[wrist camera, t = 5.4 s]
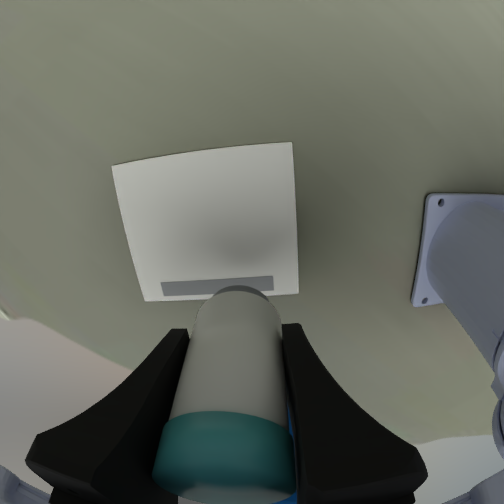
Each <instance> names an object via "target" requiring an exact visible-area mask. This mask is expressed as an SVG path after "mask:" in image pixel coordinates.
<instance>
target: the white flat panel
mask: <svg viewBox="0 0 504 504" xmlns="http://www.w3.org/2000/svg"><path fill="white" fill-rule="evenodd" d="M112 172H113V177H114V182H115V187H116V192H117V197H118V202H119V206H120V211H121V215H122V220H123V224H124V228H125V232H126V236H127V240H128V244H129V248H130V251H131V255H132V259H133V262H134V266H135V270H136V273H137V276H138V280H139V283H140V286H141V290H142V293H143V296H144V299H145V301H175V300H201V299H210V298H211V297H212V296H213V295H214V294H215V293H216V292H218V291H219V290H221V289H223V288H225V287H228V286H233V285H244V286H249V287H252V288H255V289H257V290H258V291H260V292H261V293H263V294H264V295H265V296H271V295H285V294H298V293H299V284H298V246H297V220H296V199H295V181H294V164H293V150H292V142H280V143H266V144H254V145H243V146H233V147H223V148H215V149H207V150H199V151H192V152H185V153H178V154H172V155H166V156H160V157H154V158H148V159H143V160H137V161H132V162H127V163H122V164H118V165H113V166H112Z"/></svg>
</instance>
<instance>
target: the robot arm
mask: <svg viewBox="0 0 504 504" xmlns="http://www.w3.org/2000/svg"><path fill="white" fill-rule="evenodd" d="M440 199H441V203H440V204H439V205H438V201H439V200H440ZM424 298H425V299H424ZM423 299H424V300H423ZM422 300H423V301H422ZM411 303H412V305H413V306H414V307H421V306H427V305H433V304H439V303H445V304H446V305H447V307H448V308H449V309H450V311H451V312H452V313H453V315H454V316H455V317H456V318H457V320H458V321H459V322H460V324H461V325H462V327H463V328H464V329H465V331H466V332H467V333H468V335H469V336H470V338H471V339H472V340H473V342H474V343H475V345H476V346H477V347H478V349H479V350H480V352H481V353H482V355H483V356H484V358H485V359H486V361H487V362H488V364H489V365H490V367H491V368H492V370H493V371H494V372H495V378H494V381H493V383H492V385H491V387H492V389H493V391H494V392H495V394H496V396H497V397H498V399H499V400H498V402H497V404H496V407H495V410H494V412H493V418H492V431H493V437H494V441H495V444H496V447H497V449H498V451H499V453H500V455H501V456H502V458H503V459H504V195H502V194H467V193H432V194H429V195H428V196H427V198H426V203H425V213H424V223H423V232H422V239H421V247H420V253H419V260H418V266H417V272H416V277H415V283H414V288H413V293H412V298H411ZM189 342H190V339H189V335H188V332H187V329H171V330H170V331H169V332H168V334H167V335H166V336H165V337H164V338H163V339H162V340H161V341H160V343H159V344H158V345H157V346H156V347H155V348H154V350H153V351H152V352H151V353H150V354H149V355H148V356H147V357H146V359H145V360H144V361H143V362H142V363H141V364H140V365H139V366H138V367H137V368H136V369H135V370H134V371H133V372H132V373H131V374H130V375H129V376H128V377H127V378H126V379H125V381H123V382H122V383H121V384H120V385H119V386H118V387H116V388H115V389H114V390H113V391H112V392H110V393H109V394H108V395H107V396H106V397H104V398H103V399H102V400H100V401H99V402H97V403H96V404H95V405H93V406H91V407H90V408H89V409H87V410H86V411H84V412H83V413H81V414H79V415H78V416H76V417H74V418H72V419H70V420H69V421H67V422H65V423H63V424H61V425H59V426H56V427H54V428H52V429H50V430H47V431H45V432H42V433H40V434H37V436H36V438H35V440H34V442H33V444H32V446H31V448H30V450H29V452H28V454H27V457H26V459H25V462H26V465H27V466H28V467H29V468H30V469H31V470H32V471H33V472H34V473H36V474H37V475H38V476H39V477H41V478H42V479H43V480H44V481H46V482H47V483H49V484H50V485H51V486H53V487H54V488H53V491H52V493H51V495H50V494H47V493H45V492H43V491H41V490H39V489H37V488H35V487H33V486H31V485H29V484H27V483H26V482H24V481H22V480H20V479H19V478H18V477H17V476H16V475H15V474H13V473H12V472H11V471H9V470H8V469H6V468H5V467H3V466H1V465H0V504H178V496H177V495H175V494H173V493H170V492H168V491H167V490H165V489H163V488H162V487H160V486H159V485H158V484H156V483H155V481H154V480H153V478H152V471H153V467H154V463H155V458H156V454H157V450H158V446H159V442H160V438H161V434H162V430H163V427H164V425H165V424H166V423H167V422H168V421H169V417H170V413H171V409H172V405H173V401H174V397H175V394H176V390H177V386H178V382H179V378H180V375H181V371H182V367H183V363H184V360H185V356H186V352H187V349H188V345H189ZM282 343H283V356H284V365H285V376H286V389H287V402H288V408H289V414H290V420H291V426H292V432H293V439H294V451H295V470H296V486H297V489H296V492H297V504H414V503H415V497H414V493H413V492H414V491H415V490H416V489H418V487H420V486H421V485H422V484H423V483H424V482H425V480H426V479H427V477H428V473H427V469H426V466H425V463H424V461H423V459H422V457H421V455H420V453H419V452H418V450H417V448H416V447H414V446H413V445H411V444H409V443H407V442H406V441H404V440H403V439H401V438H399V437H398V436H396V435H395V434H393V433H392V432H391V431H389V430H388V429H386V428H385V427H384V426H382V425H381V424H380V423H378V422H377V421H376V420H375V419H374V418H372V417H371V416H370V415H369V414H368V413H367V412H365V411H364V410H363V409H362V408H361V407H360V406H359V405H358V404H357V403H356V402H355V401H354V400H352V399H351V398H350V396H349V395H348V394H347V393H346V392H345V391H344V390H343V389H342V388H341V387H340V385H339V384H338V383H337V382H336V381H335V380H334V378H333V377H332V376H331V374H330V373H329V372H328V371H327V369H326V368H325V366H324V365H323V364H322V362H321V361H320V359H319V358H318V356H317V355H316V353H315V351H314V350H313V348H312V346H311V345H310V343H309V341H308V339H307V337H306V335H305V333H304V331H303V329H302V326H301V325H300V324H299V323H293V324H282ZM442 504H504V469H503V470H501V471H500V472H498V473H496V474H494V475H493V476H491V477H489V478H487V479H485V480H484V481H482V482H480V483H479V484H477V485H476V486H475V487H473V488H472V489H471V490H470V491H469V492H467V493H465V494H463V495H461V496H458V497H456V498H454V499H452V500H450V501H447V502H445V503H442Z"/></svg>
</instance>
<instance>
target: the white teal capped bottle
mask: <svg viewBox="0 0 504 504" xmlns="http://www.w3.org/2000/svg"><path fill="white" fill-rule="evenodd" d="M152 478H153V480H154V481H155V483H156V484H158V485H159V486H160V487H162V488H163V489H165V490H167V491H168V492H170V493H173V494H175V495H177V496H180V497H183V498H186V499H189V500H193V501H197V502H201V503H206V504H271V503H275V502H279V501H282V500H284V499H287V498H288V497H290V496H292V495H293V494H294V493H295V492H296V489H297V486H296V470H295V454H294V441H293V438H292V435H291V434H290V433H289V418H288V403H287V389H286V376H285V365H284V356H283V343H282V327H281V319H280V316H279V314H278V312H277V310H276V309H275V307H274V306H273V305H272V304H271V303H270V302H269V300H268V299H267V297H266V296H265V295H264V294H263V293H261V292H260V291H258V290H257V289H255V288H252V287H249V286H244V285H233V286H228V287H225V288H223V289H221V290H219V291H218V292H216V293H215V294H214V295H213V296H212V297H211V298H210V299H208V300H207V301H206V302H205V303H204V304H203V305H202V306H201V307H200V309H199V311H198V314H197V317H196V320H195V324H194V327H193V331H192V334H191V338H190V342H189V345H188V349H187V352H186V356H185V360H184V363H183V367H182V371H181V375H180V378H179V382H178V386H177V390H176V394H175V397H174V401H173V405H172V409H171V413H170V417H169V421H168V422H167V423H166V424H165V425H164V427H163V430H162V434H161V438H160V442H159V446H158V450H157V454H156V458H155V463H154V467H153V471H152Z"/></svg>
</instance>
